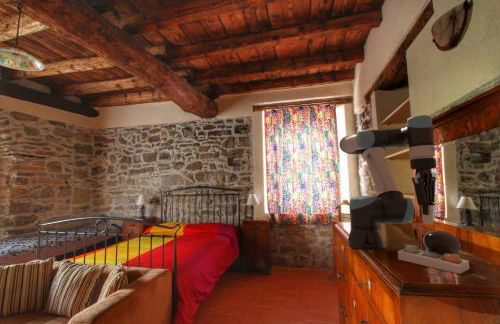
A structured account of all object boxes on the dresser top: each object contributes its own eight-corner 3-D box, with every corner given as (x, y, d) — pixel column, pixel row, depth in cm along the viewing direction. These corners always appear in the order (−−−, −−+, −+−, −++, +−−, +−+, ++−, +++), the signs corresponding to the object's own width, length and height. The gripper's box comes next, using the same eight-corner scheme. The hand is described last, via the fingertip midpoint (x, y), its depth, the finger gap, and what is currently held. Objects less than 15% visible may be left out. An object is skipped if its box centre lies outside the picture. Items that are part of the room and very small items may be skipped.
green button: (403, 252, 86) (402, 245, 87) (408, 250, 88) (408, 244, 89) (415, 255, 83) (414, 248, 83) (420, 253, 85) (420, 246, 85)
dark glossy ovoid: (460, 264, 84) (445, 262, 76) (427, 251, 93) (410, 248, 85) (467, 237, 84) (453, 233, 77) (434, 227, 93) (418, 222, 86)
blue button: (421, 259, 81) (421, 251, 81) (427, 256, 83) (426, 249, 83) (435, 262, 78) (434, 255, 78) (440, 260, 80) (439, 252, 80)
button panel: (398, 259, 86) (397, 251, 86) (408, 255, 90) (408, 247, 90) (460, 275, 71) (459, 265, 71) (469, 270, 75) (468, 260, 75)
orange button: (442, 262, 76) (441, 254, 76) (447, 259, 78) (446, 252, 78) (457, 265, 73) (457, 257, 73) (462, 263, 75) (461, 255, 75)
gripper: (425, 156, 77) (432, 227, 75) (442, 157, 83) (449, 223, 81) (401, 158, 83) (407, 224, 81) (419, 159, 90) (424, 220, 88)
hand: (428, 223), depth 81 cm, fingers closed
